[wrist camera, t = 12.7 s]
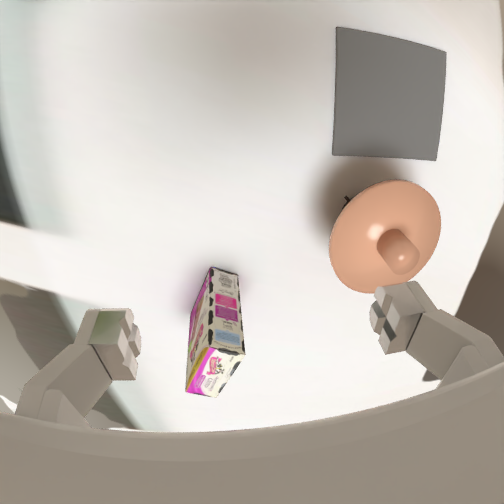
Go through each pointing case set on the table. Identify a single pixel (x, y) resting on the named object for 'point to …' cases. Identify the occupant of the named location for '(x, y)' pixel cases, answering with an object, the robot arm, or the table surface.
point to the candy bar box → (215, 335)
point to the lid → (384, 235)
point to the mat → (387, 96)
